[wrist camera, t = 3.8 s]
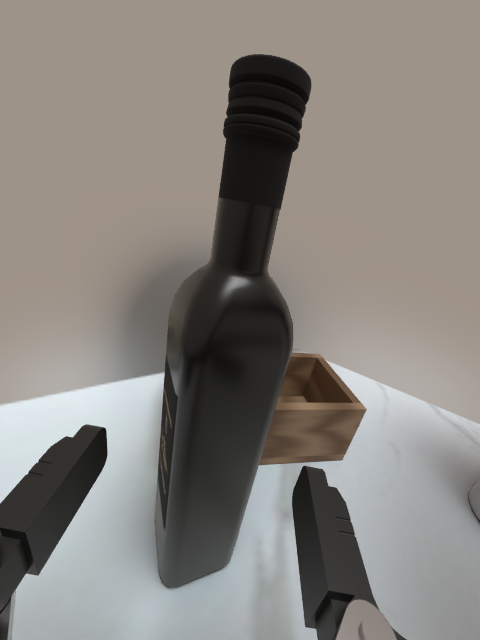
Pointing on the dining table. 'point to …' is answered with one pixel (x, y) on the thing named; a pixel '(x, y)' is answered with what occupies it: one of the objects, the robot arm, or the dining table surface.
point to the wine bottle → (229, 332)
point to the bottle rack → (312, 414)
